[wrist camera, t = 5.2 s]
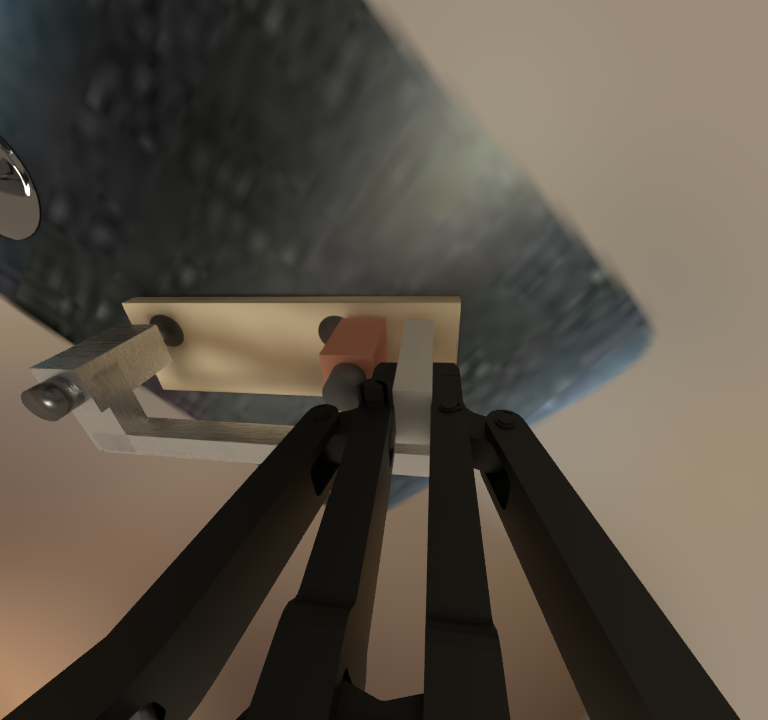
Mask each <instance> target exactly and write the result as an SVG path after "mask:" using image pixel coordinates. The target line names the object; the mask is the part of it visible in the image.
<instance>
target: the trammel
mask: <svg viewBox="0 0 768 720" xmlns="http://www.w3.org/2000/svg"><path fill="white" fill-rule="evenodd" d="M172 336H173V331H172V329H171V328H170V327H168V326H166V325H162V326H160V327H159V328H158V327H157V325H153V324H119V325H117V326H114V327H112V328H110V329H108V330H106V331H104V332H102V333H100V334H98V335H96V336H94V337H92V338H90V339H88V340H86V341H84V342H82V343H80V344H77V345H75V346H73V347H71V348H69V349H68V350H65V351H63V352H61V353H59V354H57V355H55V356H53V357H51V358H49V359H47V360H45V361H43V362H41V363H38V364H37V365H34V366H32V367H30V368H29V370H30V371H31V372H32V374H33V375H34V377H35V378H36V379H37V381H38V382H39V384H37V385H35V386H33V387H32V388H30V389H28V390H26V391H24V392H23V393H22V394H21V400H22V402H23V404H24V405H25V406H26V408H28V410H30V411H31V412H32V413H33V414H35V415H36V416H38V417H40V418H42V419H44V420H48V421H57V420H59V419H60V418H62V417H64V416H65V415H67V414H68V413H70V412H71V411H72V413H73V414H74V415H75V417H76V418H77V420H78V421H79V423H80V424H81V425H82V427H83V428H84V430H85V431H86V433H87V434H88V436H89V437H90V438H91V440H92V441H93V443H94V444H95V446H96V447H97V448H98V450H103V451H104V452H113V453H126V454H140V455H152V456H165V457H178V458H192V459H204V460H217V461H229V462H243V463H255V464H261V463H262V462H263V461H264V460H265V459H266V458H267V456H268V455H269V454H270V453H271V452H272V451H273V450H274V449H275V447H276V446H277V445H278V444H279V443H280V442H281V441H282V440H283V439H284V437H285V436H286V435H287V434H288V433H289V432H290V431H291V430H292V428H293V427H294V426H288V425H271V424H254V423H236V422H219V421H202V420H185V419H167V418H150V417H147V416H146V414H145V413H144V411H143V409H142V407H141V405H140V403H139V402H138V400H137V398H136V396H135V395H134V393H133V390H134V389H135V388H137V387H138V386H139V385H141V384H142V383H144V382H145V381H146V380H148V379H149V378H150V377H152V376H153V375H155V374H156V373H157V372H159V371H160V370H161V369H163V368H164V367H166V366H167V365H168V364H170V363H171V362H172V358H171V356H170V354H169V352H168V349H167V347H166V345H165V343H164V341H165V340H167V339H168V338H170V337H172ZM394 448H395V455H394V462H393V470H392V474H397V475H410V476H423V477H429V463H430V445H419V444H401V443H396V440H395V442H394Z"/></svg>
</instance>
